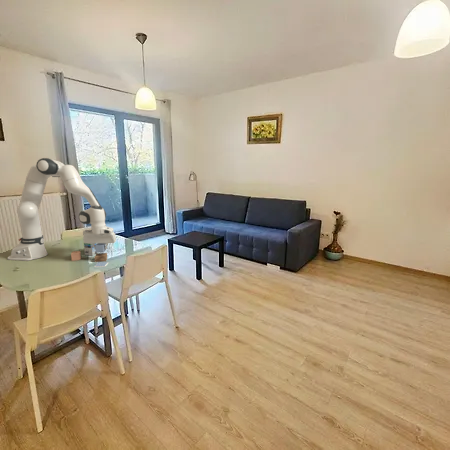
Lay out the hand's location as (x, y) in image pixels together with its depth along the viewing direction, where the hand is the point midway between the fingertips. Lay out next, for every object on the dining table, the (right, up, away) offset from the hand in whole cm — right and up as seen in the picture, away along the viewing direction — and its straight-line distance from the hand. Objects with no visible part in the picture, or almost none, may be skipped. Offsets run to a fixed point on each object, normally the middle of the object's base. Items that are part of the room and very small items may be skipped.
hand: (100, 249), depth 174 cm
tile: (+4, -10, -7) cm, 12 cm away
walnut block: (0, -8, +2) cm, 8 cm away
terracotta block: (-18, -7, +1) cm, 19 cm away
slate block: (0, -2, 0) cm, 2 cm away
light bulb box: (-12, -4, +14) cm, 19 cm away
